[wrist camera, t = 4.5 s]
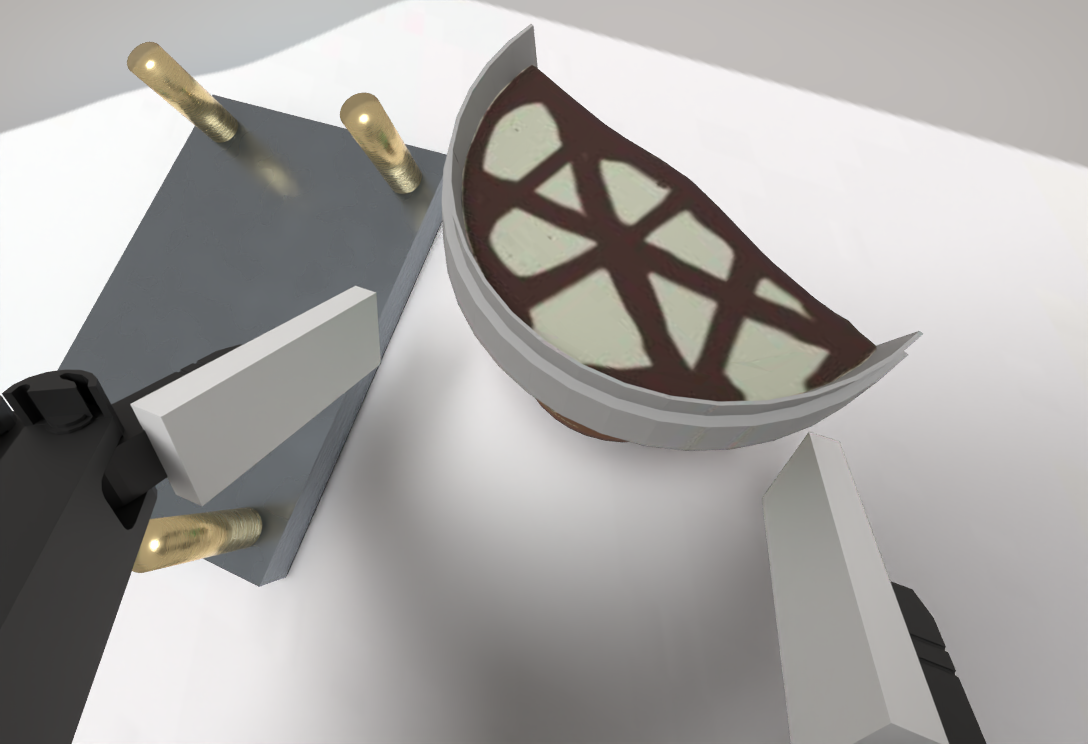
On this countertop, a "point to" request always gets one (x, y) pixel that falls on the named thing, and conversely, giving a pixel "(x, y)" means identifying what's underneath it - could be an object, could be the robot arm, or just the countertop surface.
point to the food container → (628, 281)
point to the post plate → (257, 288)
